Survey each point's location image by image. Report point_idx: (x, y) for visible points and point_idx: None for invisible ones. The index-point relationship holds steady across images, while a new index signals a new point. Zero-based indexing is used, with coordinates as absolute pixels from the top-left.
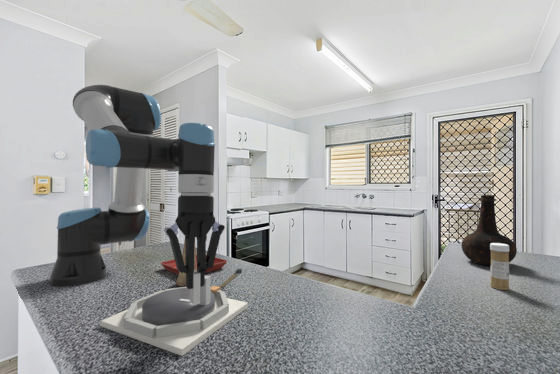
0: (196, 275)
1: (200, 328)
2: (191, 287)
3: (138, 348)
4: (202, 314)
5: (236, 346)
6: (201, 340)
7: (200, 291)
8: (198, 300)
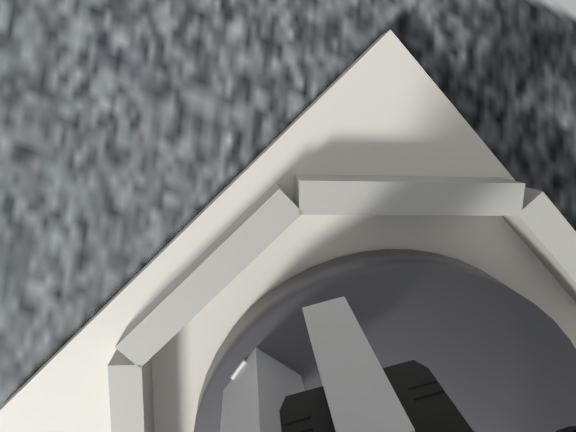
0: (382, 426)
1: (292, 198)
2: (391, 371)
3: (551, 171)
4: (277, 298)
5: (124, 18)
6: (290, 124)
7: None
8: (315, 314)
